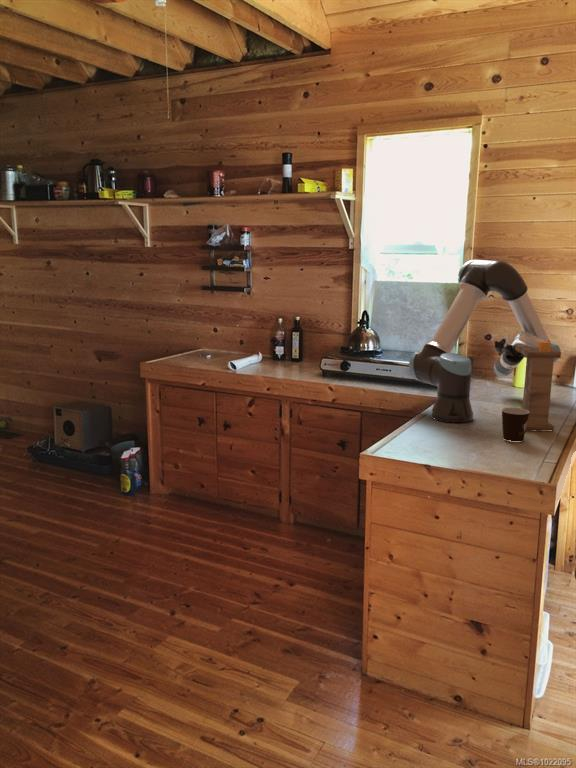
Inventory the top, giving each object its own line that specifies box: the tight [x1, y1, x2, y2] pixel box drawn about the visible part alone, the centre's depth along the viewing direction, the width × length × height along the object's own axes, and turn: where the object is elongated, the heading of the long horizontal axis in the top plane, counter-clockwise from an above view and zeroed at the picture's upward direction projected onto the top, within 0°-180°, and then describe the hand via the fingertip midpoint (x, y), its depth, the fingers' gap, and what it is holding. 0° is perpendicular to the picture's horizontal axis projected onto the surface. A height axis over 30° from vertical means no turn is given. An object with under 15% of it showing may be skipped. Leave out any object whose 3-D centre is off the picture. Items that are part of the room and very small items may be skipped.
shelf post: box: [515, 344, 562, 432], centre depth 233 cm, size 16×11×28 cm
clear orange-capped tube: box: [518, 331, 552, 352], centre depth 234 cm, size 26×4×3 cm, turn 176°
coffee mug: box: [501, 407, 529, 441], centre depth 218 cm, size 12×9×10 cm
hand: (527, 337), depth 243 cm, fingers open, 13 cm apart
